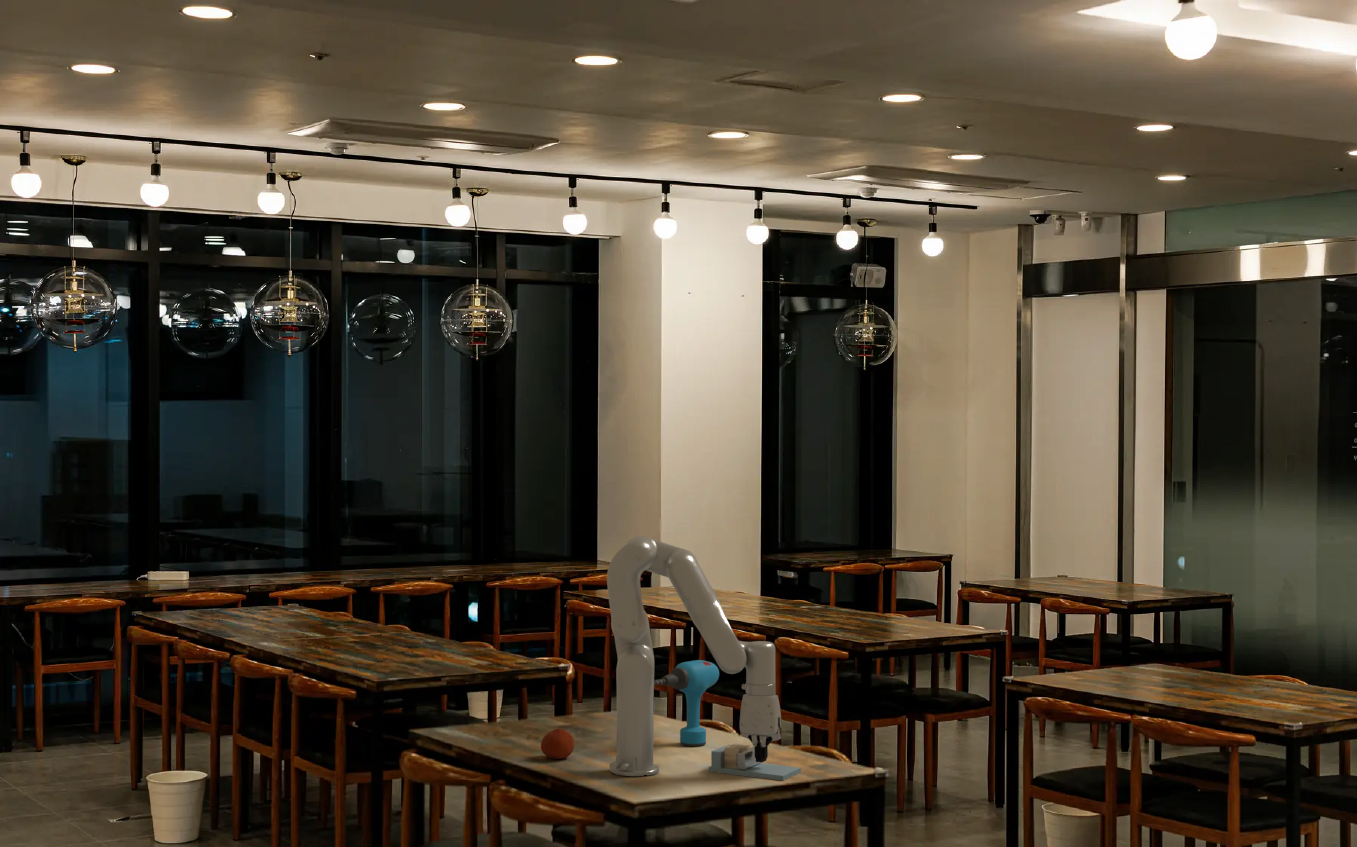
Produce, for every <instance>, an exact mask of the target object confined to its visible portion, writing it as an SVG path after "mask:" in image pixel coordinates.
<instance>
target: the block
mask: <svg viewBox="0 0 1357 847" xmlns="http://www.w3.org/2000/svg"><path fill="white" fill-rule="evenodd" d="M729 745H730V746H727V747H725V748H724V767H728V768H737V753H739V752H741V751H744V750H746V749H749V748H751V744H750V743H740V742H735V743H732V744H729Z"/></svg>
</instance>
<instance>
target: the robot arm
mask: <svg viewBox="0 0 1357 847" xmlns="http://www.w3.org/2000/svg"><path fill="white" fill-rule="evenodd" d="M644 571H646V572H650V573H654V574H655V575H659V576H662V577H666V578H668V579H669V581H670V583H671V585H672V586H673V588H674V590H675V591H676V593H677V596H678V597H679V599H680V601H681V603H682V604H683V607H684V609H685V610H686V611H687V613H688V615H689V616H690V619H691V621H692V622H693V624H694V626H695V627H696V628H697V630H698V631H699V633H700V635H701V636H702V638H703V640H704V642H705V643H706V646H707V648H708V649H709V651H710V653H711V655H712V657H713V658H714V660H715V661H716V664H717V666H718V667H719V669H721V671H722V672H724V673H726V674H730V675H734V674H737V673H740V672H741V671H742V670H743V669H744V668H745V670H746V671H745V673H746V676H745V680H746V681H745V684H744V683H742V684H741V689H742V690H745V694H743V695H742V700H741V705H740V714H739V715H740V716H739V731H740V732H741V734H740V735H741V737H743V738H745V739H748V740H749V741H750V742H751V744H752V747H753V746H755V758H756V762H760V763H765V762H766V761H767V759H768V755H769V752H768V750H769V749H768V748H769V746H770V744H771V743H772V742H775V741H779V740H780V739H782V735H781V732H782V714H781V713H782V712H781V705H780V701H779V695H776V687H777V686H776V646H775V644H774V643H773V642H771V641H767V640H766V641H765V640H762V641H761V640H758V641H757V640H756V641H754V640H753V641H742V640H739V639H738V638H737V636H736V634H735V633H734V631H733V629H732V627H731V625H730V623H729V621H728V619H727V617H726V614H725V612H724V608H723V606H722V603H721V601H720V600H719V597H718V595H717V594H716V592H715V590H714V589H713V587H712V585H711V584H710V581H709V580H708V578H707V577H706V575H705V572H704V571H703V569H702V568H701V565H700V564H699V562H698V559H697V557H696V555H695V554H694V553H693V552H691V551H689V550H687V549H684V548H682V547H678V546H674V545H671V544H668V543H666V542H663V541H659V540H657V539H654V538H651V537H648V536H643V535H637V536H634V537H632V538H631V539H629V540H628V542H627V541H626V544H624V545H623V546H622V547H621V548H620V549H619V550H618V551H617V552H616V553H615V554H614V555H613V557H612V559H611V560H610V563H609V565H608V569H607V574H606V584H607V586H606V587H607V595H608V604H609V610H610V617H611V619H610V620H611V623H610V624H611V627H610V628H611V630H612V633H613V636H614V644H615V649H616V654H617V655H616V656H617V664H616V670H615V671H616V672H615V673H616V677H615V678H616V745H615V746H616V752H615V755H616V756H615V761H614V762H610V763H609V770H610V773H612V774H614V775H617V776H623V777H624V776H625V777H645V776H644V775H647V776H652V775H655V774H658V773H659V772H660V766H659V765H657V764H655V763H654V735H655V734H654V730H655V729H654V727H655V726H654V725H655V723H654V721H655V720H654V718H655V717H654V715H655V713H654V706H655V705H654V701H655V700H654V694H655V692H654V691H655V690H654V689H655V685H654V680H655V656H654V649H653V648H654V647H653V642H652V636H651V629H650V628H651V627H650V622H649V617H648V614H647V612H646V611H645V608H644V604H643V603H644V602H643V598H642V597H643V596H642V595H643V594H642V587H641V576H642V574H643V572H644Z"/></svg>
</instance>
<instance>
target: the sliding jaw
mask: <svg viewBox="0 0 1357 847" xmlns="http://www.w3.org/2000/svg"><path fill="white" fill-rule="evenodd" d="M759 763H760V762H756V758H755V746H753V745H752V746H750V748H749V749H746V750H744V751H741V752H739V753H737V769H744V770H745V769H747V768H750V767H752V766H754V765H756V764H759Z"/></svg>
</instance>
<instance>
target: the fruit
mask: <svg viewBox="0 0 1357 847" xmlns="http://www.w3.org/2000/svg"><path fill="white" fill-rule="evenodd" d="M574 749H575V740H574V737H573V735H572V734H571V733H570V732H569V731H567V730H565V729H563V728H556V729H555V728H554V729H553V730H551V731H549V732H547V733H545V735H544V736H543V738H542V739H541V743H540V750H541V752H542V753H543V754H544V756H546V757H547V758H549V759H552V760H553V759H554V760H555V759H557V760H562V759H563V760H565V759H566V758H568V757H570V756H571V755H572V753H573V752H574Z"/></svg>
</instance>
